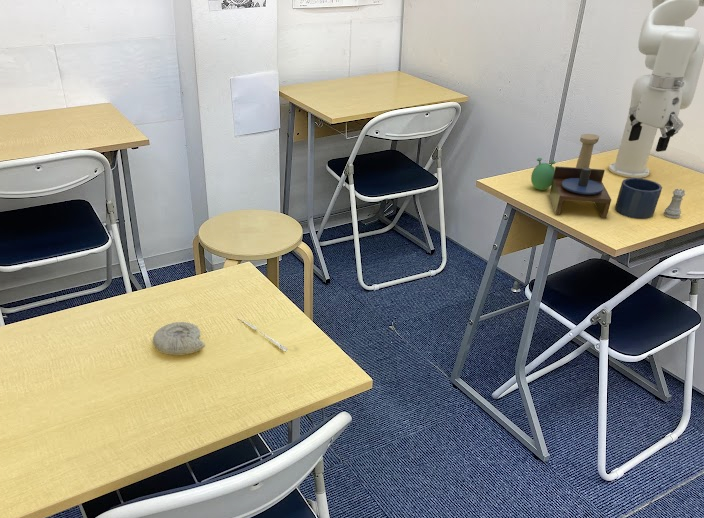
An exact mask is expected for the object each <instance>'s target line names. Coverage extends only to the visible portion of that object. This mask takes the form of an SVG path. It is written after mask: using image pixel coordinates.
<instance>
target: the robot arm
mask: <svg viewBox="0 0 704 518" xmlns="http://www.w3.org/2000/svg"><path fill="white" fill-rule="evenodd" d="M700 7H704V0H652V10H651V11H649V12H648V13H647V14H646V16H645V18H644V20H643V22H642V25H641V28H640V33H639V38H638V43H637V44H638V47H637V48H638V51H639V53H641V54H642V55H645V60H644V65H645V67H646V68H647V69H648V70H651V71H652V72H651V74H644V75H641V76H639V77H637V79H635V80H634V83H633V85H632V89H631V97H630V104H629V109H628V114H627V118H626V122H625V126H624V129H623V132H622V137H621V140H620V144H619V146H618V151H617V155H616V159H615V162H613V163H610V164H609V166H608V170H609V172H611V173H612V174H614V175H617V176H620V177H625V178H641V179H643V178H646V177H648V176H649V175H650V174H651V173H650V172H651V171H650V169H649V168H648V167H647V166H648V165H647V164H648V162H649V158H650V155H651V151H652V149H653V144H654V141H655V138H656V135H657V131H658V129H659V130H660V135H661V136H659V138H658V141H657V144H656V148H655V152H657V153H660V152H666V151H667V149H668V146H669V143H670V141H671V137H672V138H673V137H674V136H675V135H676V134H678V133H679V131H681V129H682V128H683V126H684V122H682V120H681V119H680V118H679V114H680V110H685V109H688V108H689V107H690V106H691V105H692V102H693V100H694V97H695V93H696V89H697V86H698V82H699V79H700V75H701V71H702V67H703V63H704V43H703V42H702V41H701V34H700V31H699V30H698V29H697V28H695V27H691V26H685V25H686V21H687V20H689V19H690V18H692V17H693V16H694V15H695V14H696V13H697V11H698V10H699V8H700Z"/></svg>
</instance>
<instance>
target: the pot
mask: <svg viewBox="0 0 704 518" xmlns="http://www.w3.org/2000/svg"><path fill="white" fill-rule="evenodd" d="M662 191H663V186H662V185H661V184H659V182H656V181H653V180H650V179H646V178H630V177H627V178H626V179H623V180H622V182H621V184H620V187H619V190H618V195H617V198H616V202H615V205H614V211H615V212H616V213H617V214H619V215H620V216H622V217H626V218H630V219H635V220H648V219H651V218H653V216H654V214H655V211H656V208H657V206H658V203H659V200H660V196H661V193H662Z"/></svg>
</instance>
